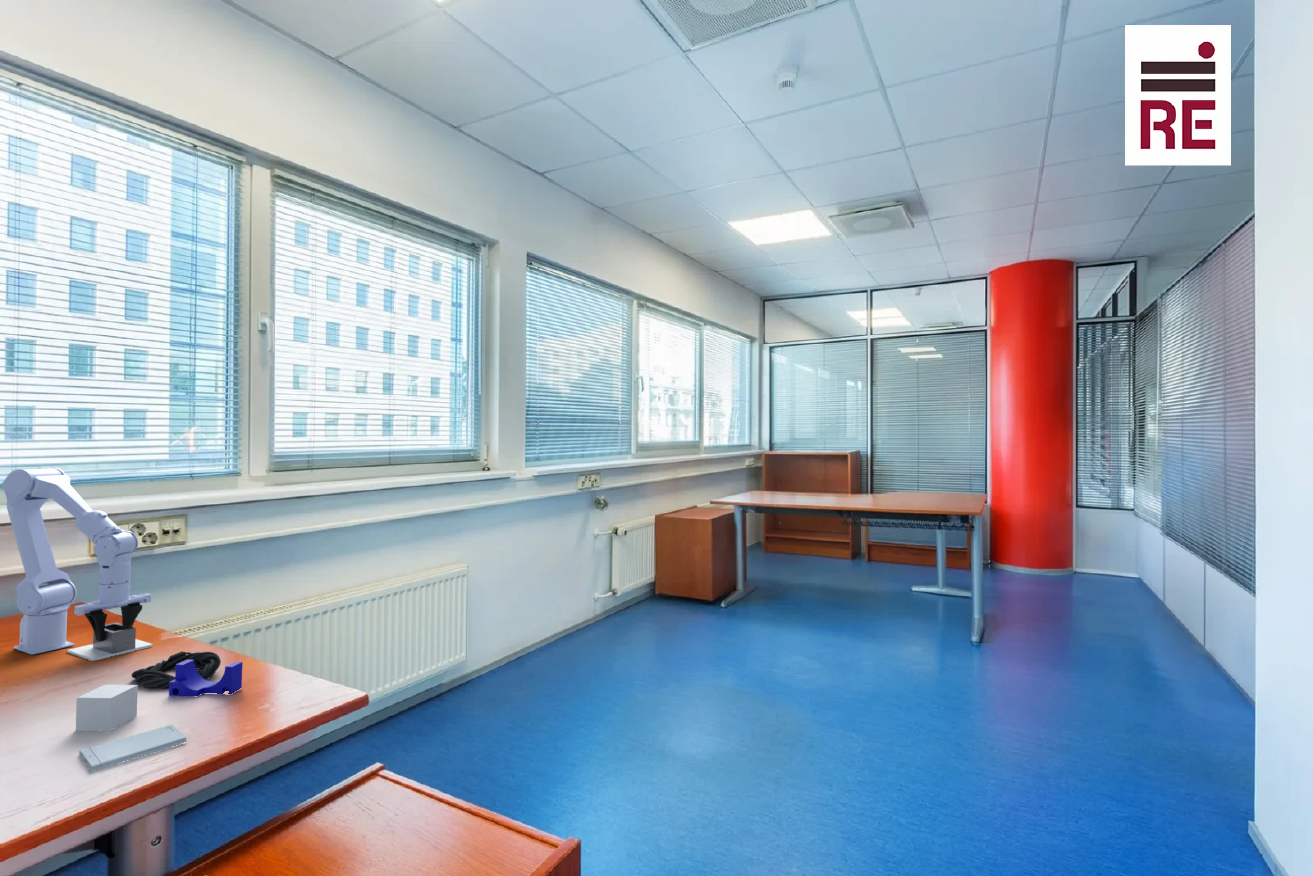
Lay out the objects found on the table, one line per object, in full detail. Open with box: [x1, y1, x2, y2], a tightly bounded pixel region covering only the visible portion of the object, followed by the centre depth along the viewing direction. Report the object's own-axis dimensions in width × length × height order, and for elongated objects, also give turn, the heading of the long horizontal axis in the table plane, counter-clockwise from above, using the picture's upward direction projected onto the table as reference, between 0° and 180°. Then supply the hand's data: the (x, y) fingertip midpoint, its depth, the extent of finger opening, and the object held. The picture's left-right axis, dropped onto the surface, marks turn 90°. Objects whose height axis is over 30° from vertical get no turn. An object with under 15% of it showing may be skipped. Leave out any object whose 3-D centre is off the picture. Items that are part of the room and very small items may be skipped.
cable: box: [131, 651, 221, 689], centre depth 136 cm, size 17×14×4 cm
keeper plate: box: [66, 638, 153, 662], centre depth 152 cm, size 12×12×4 cm
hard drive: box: [78, 724, 187, 773], centre depth 105 cm, size 2×8×12 cm
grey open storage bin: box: [92, 622, 137, 654], centre depth 151 cm, size 9×5×5 cm, turn 64°
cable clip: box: [168, 660, 243, 697], centre depth 128 cm, size 12×4×6 cm, turn 88°
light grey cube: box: [75, 684, 139, 732], centre depth 114 cm, size 6×6×6 cm
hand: (113, 637), depth 151 cm, fingers closed on grey open storage bin, 5 cm apart
